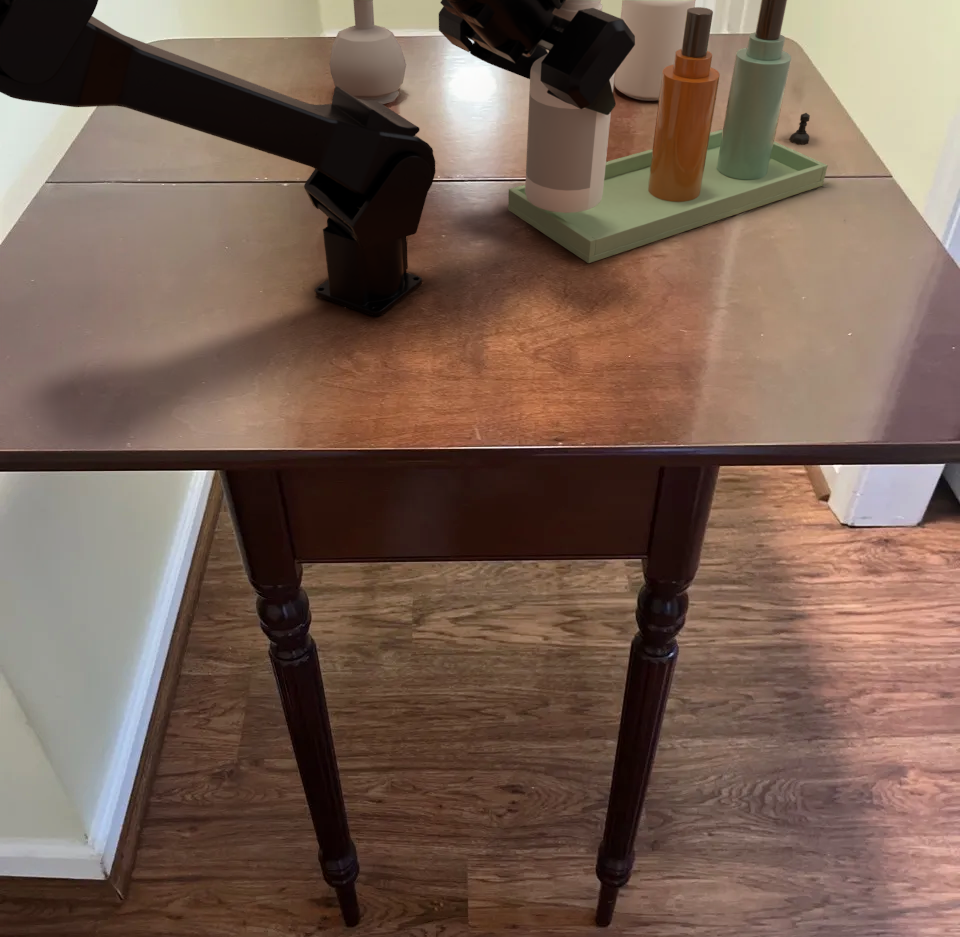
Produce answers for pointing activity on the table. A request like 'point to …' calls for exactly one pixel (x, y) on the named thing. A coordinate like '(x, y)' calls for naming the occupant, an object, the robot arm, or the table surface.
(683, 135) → the amber bottle
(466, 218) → the table surface
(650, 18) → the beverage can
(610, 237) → the tray
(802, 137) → the chess pawn
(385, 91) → the potion bottle
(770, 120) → the celadon bottle
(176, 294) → the table surface
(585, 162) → the spray bottle
